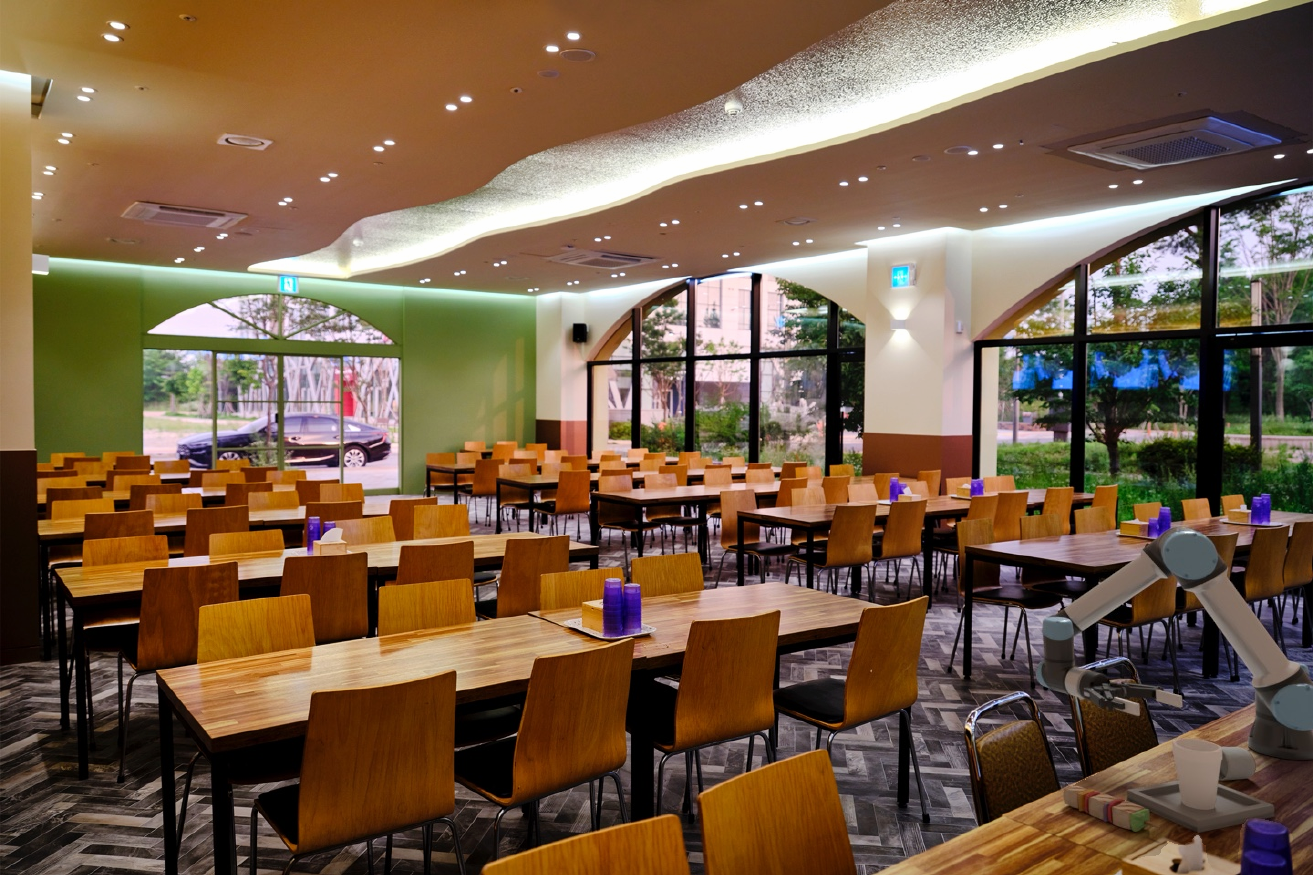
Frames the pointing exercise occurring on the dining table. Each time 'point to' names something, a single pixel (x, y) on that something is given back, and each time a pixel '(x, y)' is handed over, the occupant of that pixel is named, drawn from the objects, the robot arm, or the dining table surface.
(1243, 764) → the ceramic mug
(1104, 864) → the dining table surface
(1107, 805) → the skewer
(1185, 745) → the foam cup
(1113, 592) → the robot arm
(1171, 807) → the cafeteria tray
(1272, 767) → the dining table surface
